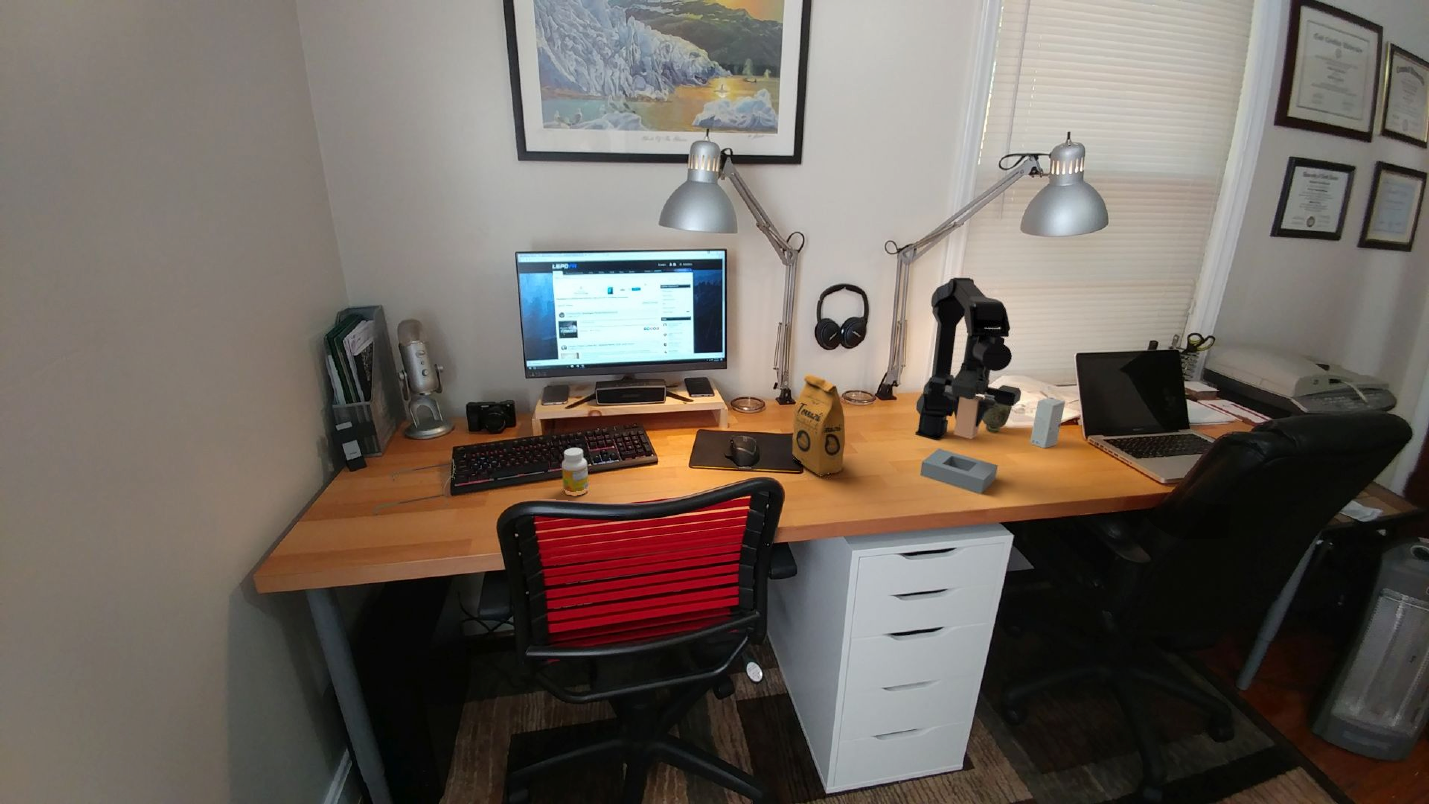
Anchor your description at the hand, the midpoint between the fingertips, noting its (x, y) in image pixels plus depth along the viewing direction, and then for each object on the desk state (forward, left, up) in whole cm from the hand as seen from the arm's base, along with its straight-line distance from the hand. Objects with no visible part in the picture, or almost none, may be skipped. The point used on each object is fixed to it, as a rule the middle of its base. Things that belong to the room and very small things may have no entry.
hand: (967, 424), depth 137 cm
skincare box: (+10, +34, -13) cm, 38 cm away
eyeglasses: (-86, -88, -14) cm, 124 cm away
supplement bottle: (-61, -65, -13) cm, 90 cm away
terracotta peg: (0, 0, -3) cm, 2 cm away
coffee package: (-28, -18, -14) cm, 36 cm away
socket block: (0, -1, -13) cm, 13 cm away
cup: (-3, +34, -13) cm, 37 cm away
